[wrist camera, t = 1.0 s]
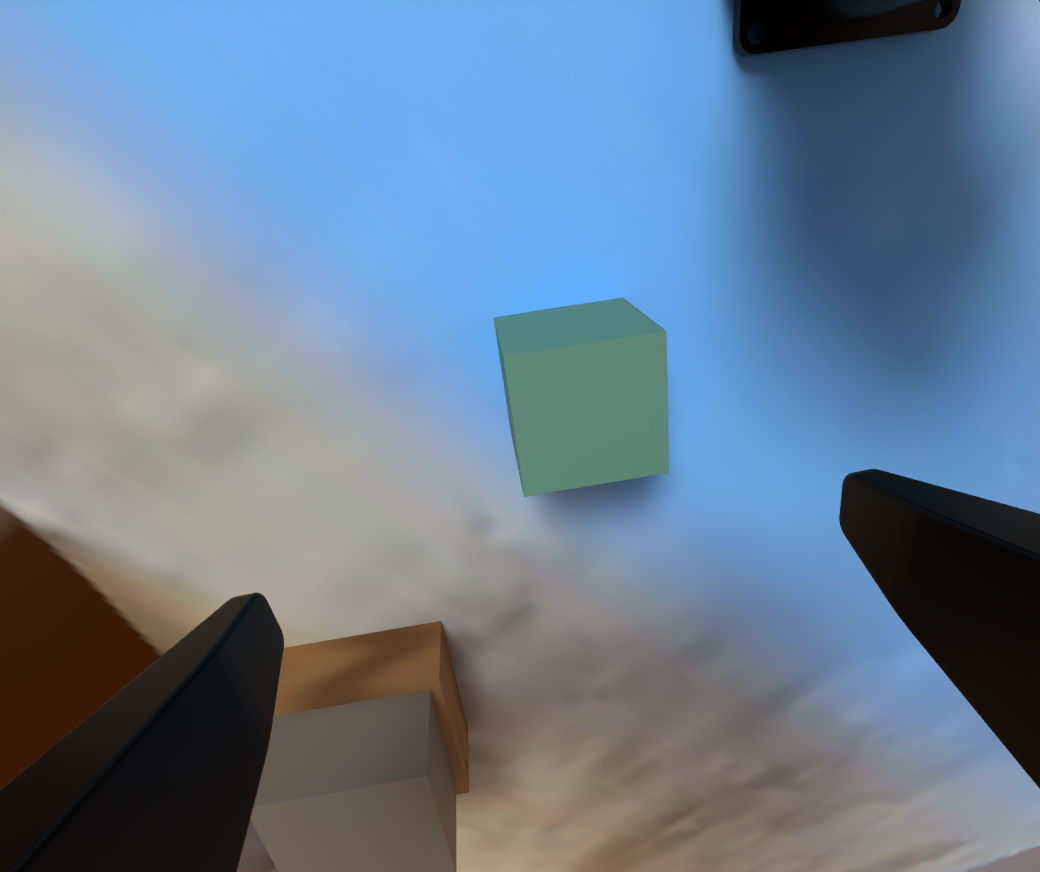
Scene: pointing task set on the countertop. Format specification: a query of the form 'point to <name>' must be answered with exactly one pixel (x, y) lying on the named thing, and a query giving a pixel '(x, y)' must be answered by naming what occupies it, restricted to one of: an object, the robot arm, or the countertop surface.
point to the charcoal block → (359, 789)
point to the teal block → (585, 394)
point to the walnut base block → (379, 679)
